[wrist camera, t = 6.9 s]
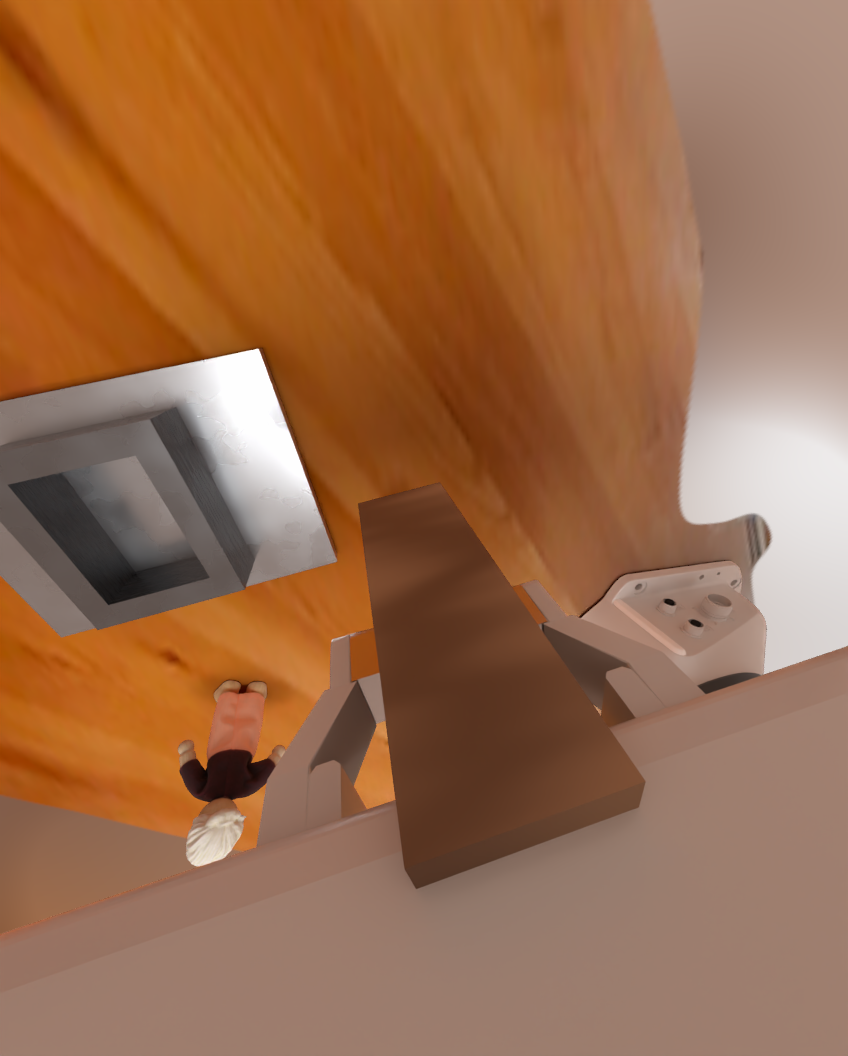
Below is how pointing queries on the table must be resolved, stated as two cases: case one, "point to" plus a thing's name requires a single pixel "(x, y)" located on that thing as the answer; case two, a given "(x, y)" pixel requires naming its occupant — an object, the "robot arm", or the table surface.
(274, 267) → the table surface
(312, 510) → the grey socket base
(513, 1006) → the robot arm
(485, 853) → the walnut wedge
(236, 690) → the grandmother figurine
